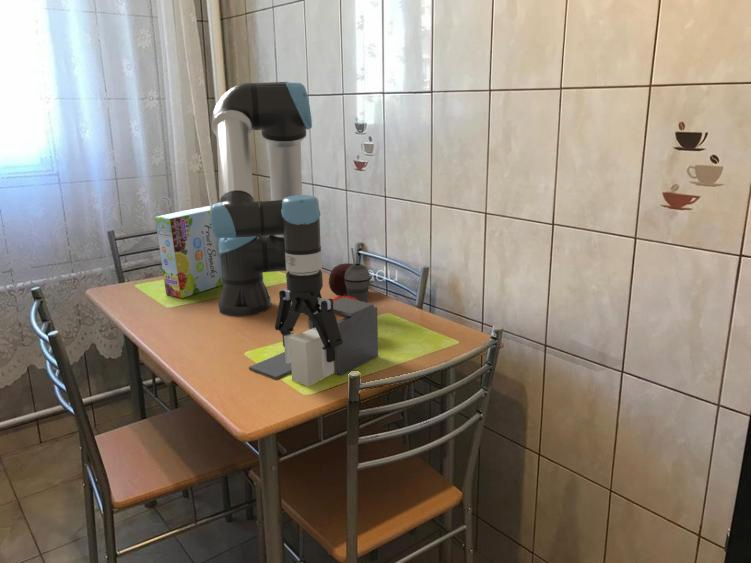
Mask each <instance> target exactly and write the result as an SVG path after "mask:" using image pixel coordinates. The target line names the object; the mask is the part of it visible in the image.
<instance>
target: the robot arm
mask: <svg viewBox="0 0 751 563" xmlns="http://www.w3.org/2000/svg"><path fill="white" fill-rule="evenodd" d="M311 112H312V111H311V106H310V102H309V97H308V92H307V88H306V86H304V84H303V83H300V82H289V81H279V82H278V81H275V82H273V81H271V82H243V83H239V84H237V85H234V86H232V87H230V88H229V89H228V90H227V91H225V92H224V94H223V95H221V97H220V98H219V99H218V101H217V102H216V104H215V106H214V107H213V111H212V116H211V130H212V132H213V134H214V136H215V137H216V150H217V155H216V156H217V171H218V173H217V174H218V194H219V201H218V202H217V203H212V204H210V206H211V207H210V216H211V227H212V233H213V235H214V236H215V237H217V238H220V240H219V245H220V250H219V253H220V256H221V269H222V280H223V285H221V292H220V295H219V300H218V310H219V313H221V314H223V315H228V316H236V317H237V316H238V317H241V316H251V315H257V314H260V313H263V312H265V311H268V310H269V309H271V307H272V301H271V300H272V299H271V296H270V294H269V292H268V289H267V286H266V284H265V282H264V275H263V273H270V272H271V273H273V272H286V274H285V275H286V279H285V280H286V288H285V289H282V290H280V291H279V292H278V294H279V296H278V298H279V303H278V308H277V314H276V319H275V323H274V324H275V325H274V328H275V330H276V331H280V334H281V335H282V346H283V348H284V352H285V361H286V363H287V364H289V363H291V356H290V340H289V338H290V337H293V336H295V335H296V333H295V329H294V328H295V326H296V324H297V322H298V319H299V318H300V315H301V314H304V315H305V316H307V317H308V320H309V319H310V320H312V321H313V323H314V325H315V328H316V330H317V332H318V334H319V336H320V338H321V340H322V342H323V345H324V347H322V348H321V351H322V372H323V377H326V378H327V376H328V377H329V375H330V376H332V375H333V373H334V360H335V347H336V346H338V345H340V344H342V338H341V335H340V331H339V328H338V324H337V321H336V317H335V314H334V310H333V300H332V299H333V298H328V299H326V298H323V297H322V294H321V290H322V288H323V286H324V284H323V283H324V282H323V271H321V269H322V268H323V261H322V260H323V259H322V247H321V224H320V223H321V219H320V216H321V211H320V206H319V205H320V204H319V199H318V198H317V197H316V196H314V195H307V194H306V195H305V194H303V181H302V180H303V179H302V177H303V176H302V144H301V142H302V141H303V140H304V139H306V137H307V130H309V129H312V127H313V122H312V121H313V120H312V113H311ZM252 131H261V137H262V138H263V139H264V140H265V141H266V142H267V145H268V146H267V147H268V162H269V163H268V167H269V177H270V178H269V182H270V197H271V198H270V200H263V201H262V200H259V201H258V200H257V201H256V200H255V196H254V183H253V172H252V161H251V159H252V158H251V150H250V138H249V137H250V135H251V133H252ZM316 312H318V313H316ZM314 313H316V314H314ZM328 340H329V342H328ZM331 374H332V375H331ZM334 374H335V373H334Z"/></svg>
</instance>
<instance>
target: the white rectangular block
mask: <svg viewBox="0 0 751 563" xmlns="http://www.w3.org/2000/svg"><path fill="white" fill-rule="evenodd" d="M289 340H290V356H291V380H292V381H293V382H295V383H299V384H301V385H304V386H307V387H310V386H312V385H314V384H316V383H318V382H319V380H320V381H321V379H322V380H324V379H326V378H325V377H323V372H322V351H321V348H322V347H324V345H323V342H322V340H321V338H320V336H319V334H318V332H317V330H316V328H312V329H310V330H309V329H308V330H305V331H303V332H300V333H298V334H295V336H293V337H290V338H289ZM328 342H329V340H328ZM335 372H336V373H337V369H336V347H335V360H334V373H333V374H336V373H335ZM333 374H332V375H333ZM323 378H324V379H323ZM317 381H318V382H317ZM315 382H316V383H315ZM313 383H314V384H313Z"/></svg>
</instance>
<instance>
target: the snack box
mask: <svg viewBox="0 0 751 563" xmlns="http://www.w3.org/2000/svg"><path fill="white" fill-rule="evenodd" d="M210 207H211V205H207V206H201V207H197V208H192V209H191V208H190V209H185V210H181V211H176V212H172V213H167V214H162V215H156V216H154V219H155V225H156V233H157V239H158V240H157V241H158V247H159V254H160V261H161V267H162V274H163V283H164V289H165V295H166V294H168V295H167V296H170V295H171V296H170V297H174V296H175V298H178V297H179V298H178V299H181V298H182V299H184V298H187V297H189V296H192V295H196V294H199V293H202V292H204V291H208V290H210V289H214V288H218V287H220V286H223V280H222V269H221V256H220V253H219V250H220V245H219V240H220V238H217V237H215V236H214V235H213V233H212V227H211V216H210Z"/></svg>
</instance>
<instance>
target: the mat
mask: <svg viewBox="0 0 751 563" xmlns="http://www.w3.org/2000/svg"><path fill="white" fill-rule="evenodd" d="M248 369H249V370H250V371H253V372H254V373H257V374H260V375H263V376H265V377H268V378H271V379H274V380H278V379H280V378H282V377H284V376H287V375H289V374H292V372H291V363H289V364H287V363H286V361H285V351H284V352H281V353H279V354H277V355H273V356H272V357H270V358H269V357H268V358H266V359H264V360H262V361H260V362H257V363H255V364H253V365H251V366H250V365H249V366H248Z"/></svg>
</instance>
